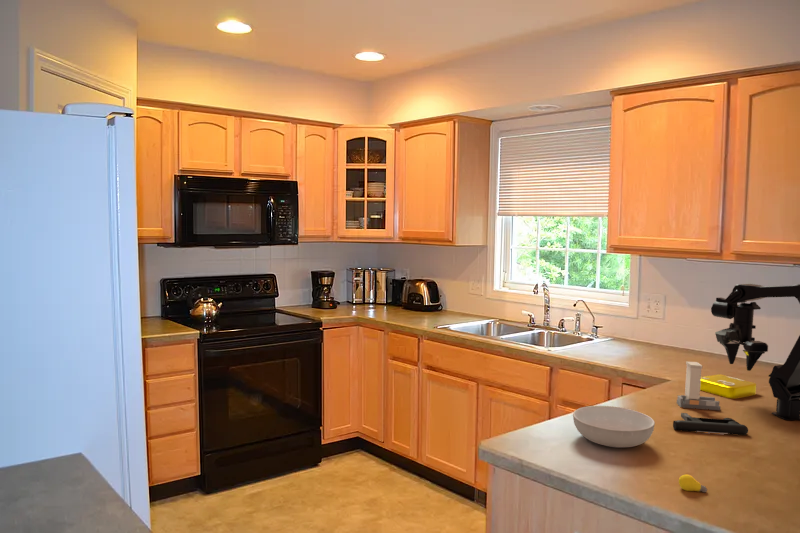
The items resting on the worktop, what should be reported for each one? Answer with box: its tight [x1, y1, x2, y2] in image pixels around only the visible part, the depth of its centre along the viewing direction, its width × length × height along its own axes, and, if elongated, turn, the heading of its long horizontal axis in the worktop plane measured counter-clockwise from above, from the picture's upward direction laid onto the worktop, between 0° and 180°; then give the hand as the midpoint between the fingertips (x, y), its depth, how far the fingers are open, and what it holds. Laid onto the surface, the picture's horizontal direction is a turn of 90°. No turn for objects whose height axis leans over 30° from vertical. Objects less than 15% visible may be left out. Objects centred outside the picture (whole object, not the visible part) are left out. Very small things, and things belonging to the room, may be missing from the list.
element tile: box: [700, 373, 757, 400], centre depth 223 cm, size 15×15×5 cm
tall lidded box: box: [684, 360, 703, 400], centre depth 202 cm, size 4×5×13 cm
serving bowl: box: [572, 405, 656, 448], centre depth 168 cm, size 21×21×7 cm
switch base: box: [676, 394, 721, 411], centre depth 202 cm, size 12×5×3 cm, turn 80°
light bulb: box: [678, 474, 708, 493], centre depth 138 cm, size 3×6×4 cm, turn 74°
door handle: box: [672, 412, 749, 436], centre depth 183 cm, size 3×20×16 cm
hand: (739, 367), depth 208 cm, fingers open, 9 cm apart
